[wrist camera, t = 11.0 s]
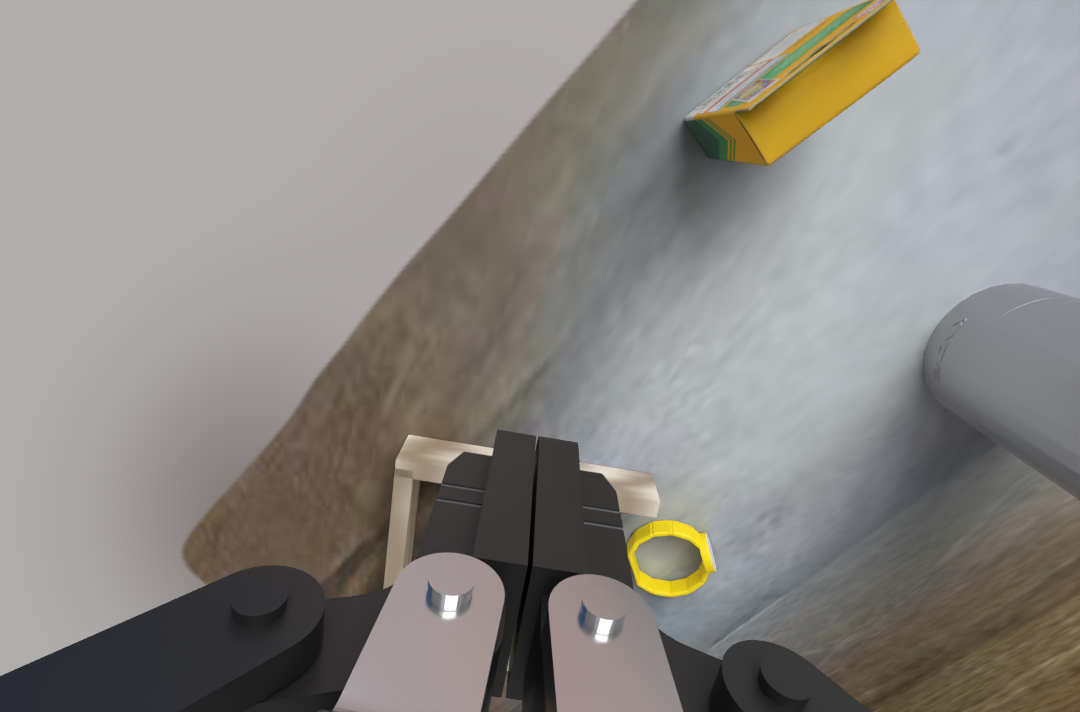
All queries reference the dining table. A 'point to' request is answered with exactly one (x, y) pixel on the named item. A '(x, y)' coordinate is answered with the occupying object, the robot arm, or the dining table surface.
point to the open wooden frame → (434, 455)
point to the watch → (682, 532)
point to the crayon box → (803, 83)
